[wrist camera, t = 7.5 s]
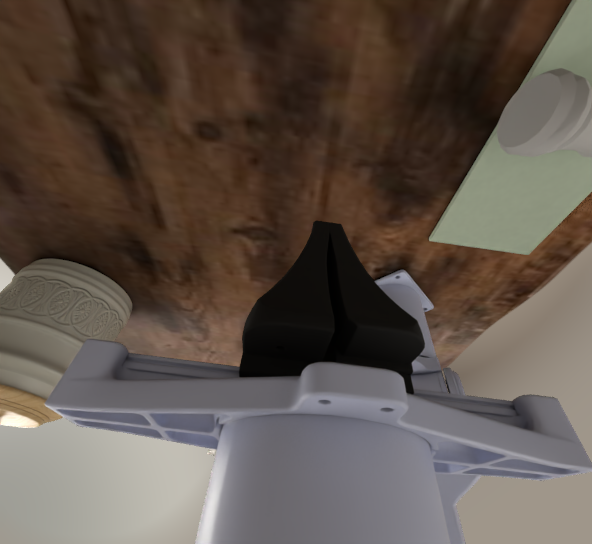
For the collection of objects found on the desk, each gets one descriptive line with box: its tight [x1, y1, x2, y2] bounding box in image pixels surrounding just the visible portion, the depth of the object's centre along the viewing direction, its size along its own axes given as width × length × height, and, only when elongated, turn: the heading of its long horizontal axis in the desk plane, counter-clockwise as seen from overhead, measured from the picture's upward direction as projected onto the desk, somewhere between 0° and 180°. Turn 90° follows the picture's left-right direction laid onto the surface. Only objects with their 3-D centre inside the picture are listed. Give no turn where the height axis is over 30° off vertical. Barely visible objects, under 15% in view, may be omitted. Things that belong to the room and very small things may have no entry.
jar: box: [0, 259, 132, 428], centre depth 31 cm, size 13×13×18 cm
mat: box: [429, 0, 592, 255], centre depth 19 cm, size 20×10×1 cm, turn 173°
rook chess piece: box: [497, 68, 592, 158], centre depth 17 cm, size 4×4×8 cm
